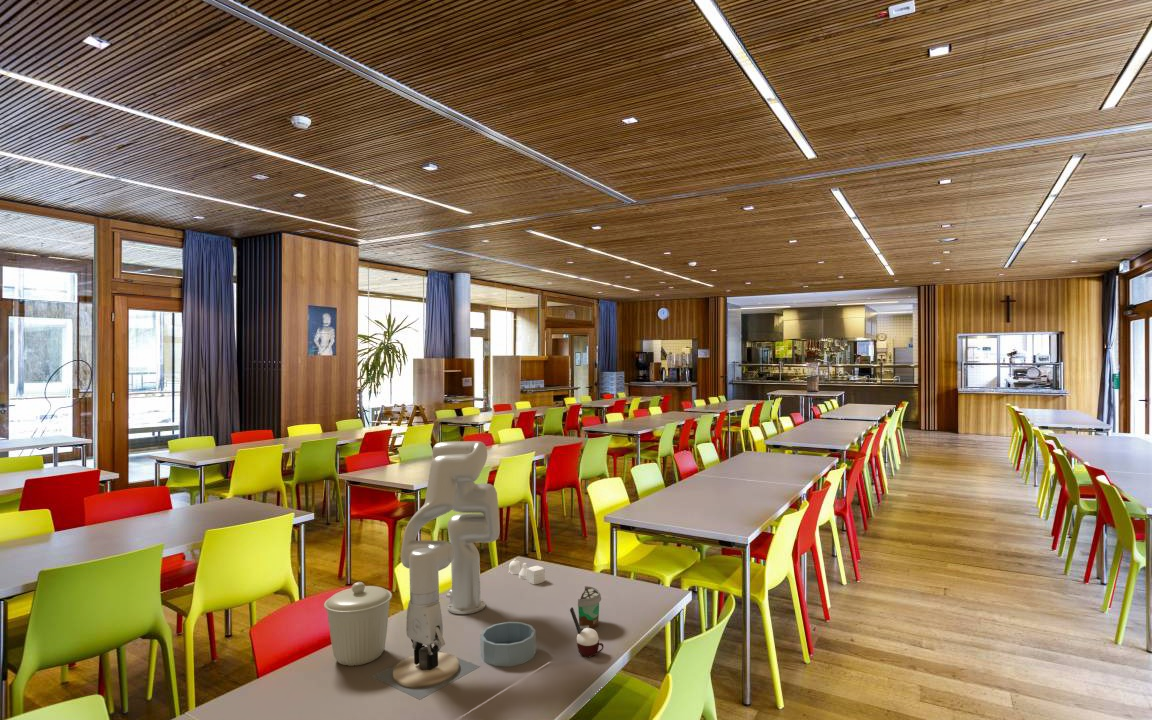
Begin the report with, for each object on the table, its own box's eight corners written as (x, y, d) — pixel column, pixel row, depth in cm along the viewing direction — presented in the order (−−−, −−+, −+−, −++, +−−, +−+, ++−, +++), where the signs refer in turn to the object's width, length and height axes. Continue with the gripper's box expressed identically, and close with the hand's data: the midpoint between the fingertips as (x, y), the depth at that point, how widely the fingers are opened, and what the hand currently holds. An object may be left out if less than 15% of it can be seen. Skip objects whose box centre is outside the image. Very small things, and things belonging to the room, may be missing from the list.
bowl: (470, 657, 169) (469, 636, 169) (507, 638, 181) (507, 618, 181) (509, 672, 160) (508, 649, 160) (546, 651, 172) (545, 629, 172)
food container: (598, 634, 182) (597, 600, 182) (578, 633, 183) (577, 599, 183) (604, 617, 194) (604, 586, 194) (586, 616, 195) (585, 585, 195)
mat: (371, 677, 159) (371, 676, 159) (431, 648, 175) (431, 647, 175) (419, 701, 147) (419, 699, 147) (480, 667, 163) (480, 666, 163)
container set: (545, 582, 229) (544, 568, 229) (533, 586, 226) (533, 571, 226) (517, 569, 245) (517, 556, 245) (506, 572, 241) (505, 558, 242)
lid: (379, 675, 159) (379, 653, 160) (430, 651, 173) (430, 630, 173) (421, 694, 149) (420, 671, 149) (472, 666, 163) (471, 645, 163)
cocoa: (606, 655, 169) (607, 612, 169) (591, 663, 164) (592, 618, 164) (581, 644, 175) (582, 602, 176) (566, 651, 171) (567, 608, 171)
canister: (367, 677, 160) (365, 596, 160) (310, 669, 165) (309, 591, 166) (405, 646, 177) (404, 574, 178) (353, 640, 182) (351, 570, 183)
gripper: (393, 594, 164) (394, 662, 163) (434, 607, 153) (435, 680, 153) (416, 586, 170) (417, 651, 169) (456, 598, 159) (458, 668, 159)
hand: (426, 664), depth 161 cm, fingers open, 4 cm apart
